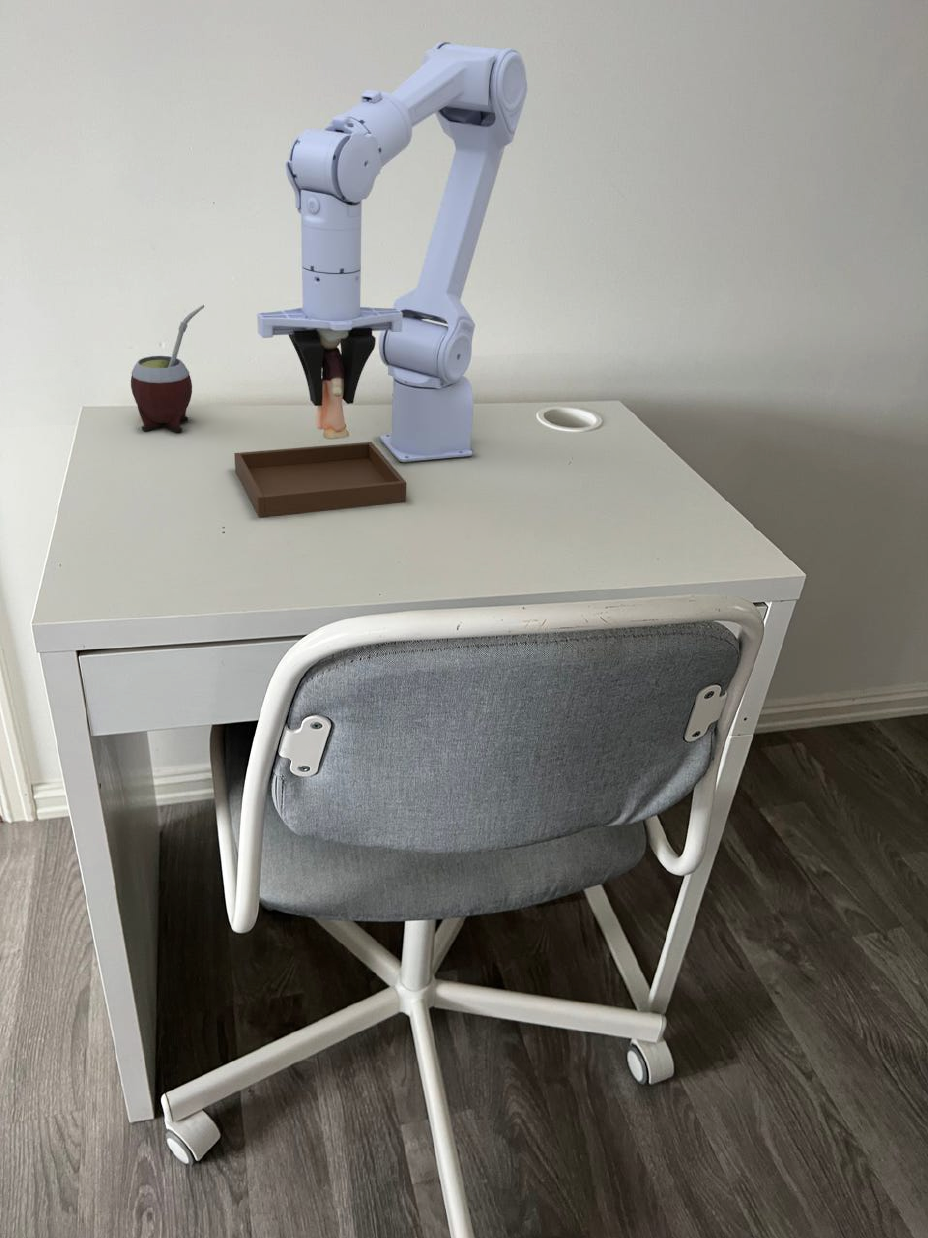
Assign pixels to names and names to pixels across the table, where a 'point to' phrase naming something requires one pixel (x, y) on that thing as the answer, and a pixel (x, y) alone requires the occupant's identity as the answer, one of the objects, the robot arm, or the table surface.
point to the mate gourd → (163, 387)
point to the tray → (318, 478)
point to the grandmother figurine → (332, 386)
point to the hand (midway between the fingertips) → (331, 401)
